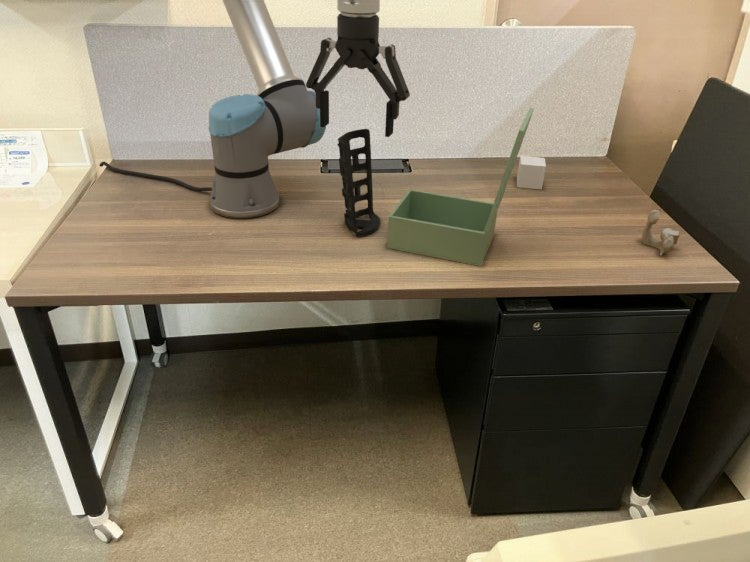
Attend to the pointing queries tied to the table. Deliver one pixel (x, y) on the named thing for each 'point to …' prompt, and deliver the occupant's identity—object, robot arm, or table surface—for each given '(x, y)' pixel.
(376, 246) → the table surface
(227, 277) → the table surface
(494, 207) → the lid
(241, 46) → the robot arm
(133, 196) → the table surface
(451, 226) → the box
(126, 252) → the table surface
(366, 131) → the holder
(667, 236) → the beige irregular piece
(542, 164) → the white cube
